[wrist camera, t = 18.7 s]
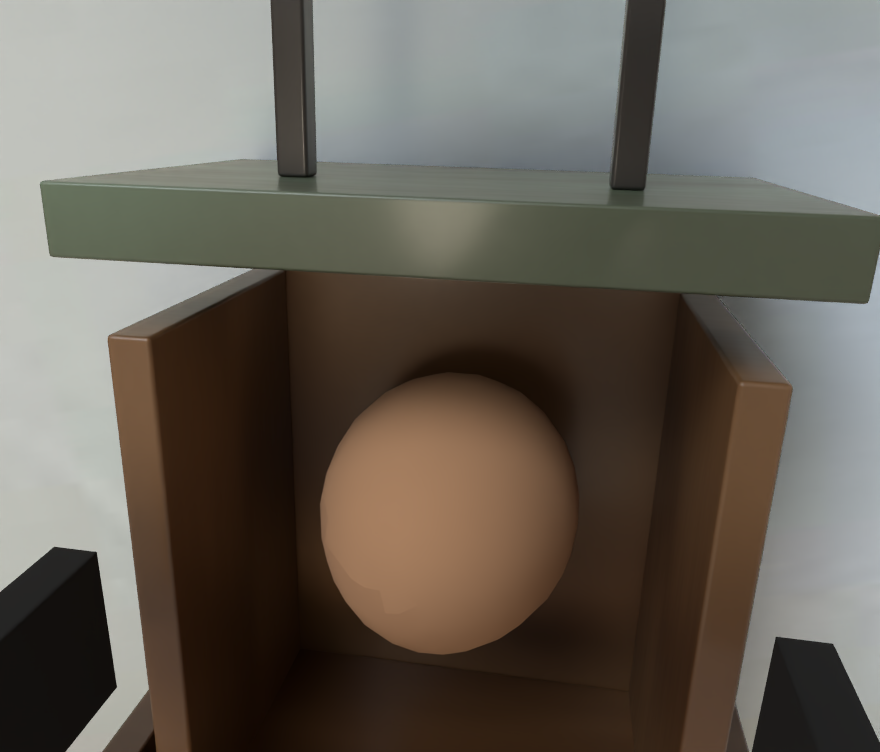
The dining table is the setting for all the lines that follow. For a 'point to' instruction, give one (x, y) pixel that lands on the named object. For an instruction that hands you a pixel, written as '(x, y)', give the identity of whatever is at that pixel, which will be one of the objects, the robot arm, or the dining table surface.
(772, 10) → the dining table surface
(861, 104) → the dining table surface
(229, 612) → the drawer
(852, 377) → the dining table surface
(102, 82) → the dining table surface
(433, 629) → the egg
